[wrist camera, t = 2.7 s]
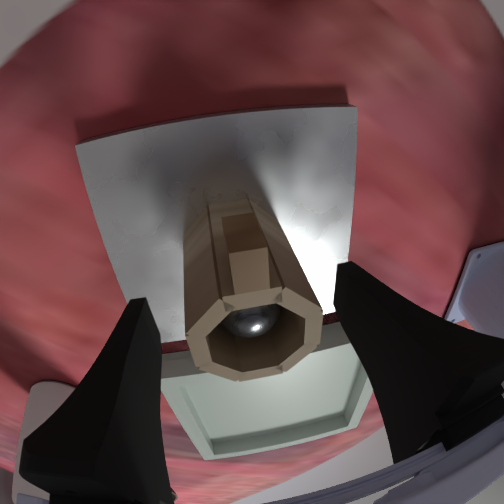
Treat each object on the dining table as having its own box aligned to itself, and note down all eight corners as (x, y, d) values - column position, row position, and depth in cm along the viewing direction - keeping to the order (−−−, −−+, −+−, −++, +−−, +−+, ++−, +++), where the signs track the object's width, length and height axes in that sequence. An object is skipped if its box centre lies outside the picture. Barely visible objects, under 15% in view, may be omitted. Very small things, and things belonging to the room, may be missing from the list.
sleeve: (275, 164, 13) (329, 237, 8) (280, 273, 17) (317, 365, 12) (172, 180, 13) (162, 264, 8) (195, 287, 16) (203, 387, 11)
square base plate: (349, 104, 13) (437, 140, 8) (336, 301, 20) (376, 379, 15) (80, 140, 12) (15, 200, 7) (146, 335, 19) (142, 424, 14)
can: (17, 383, 20) (-6, 510, 10) (65, 371, 20) (46, 523, 10) (65, 420, 23) (57, 533, 14) (115, 412, 23) (114, 541, 13)
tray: (384, 310, 21) (396, 329, 20) (350, 412, 30) (356, 427, 29) (155, 354, 20) (155, 379, 18) (202, 443, 29) (204, 460, 27)
